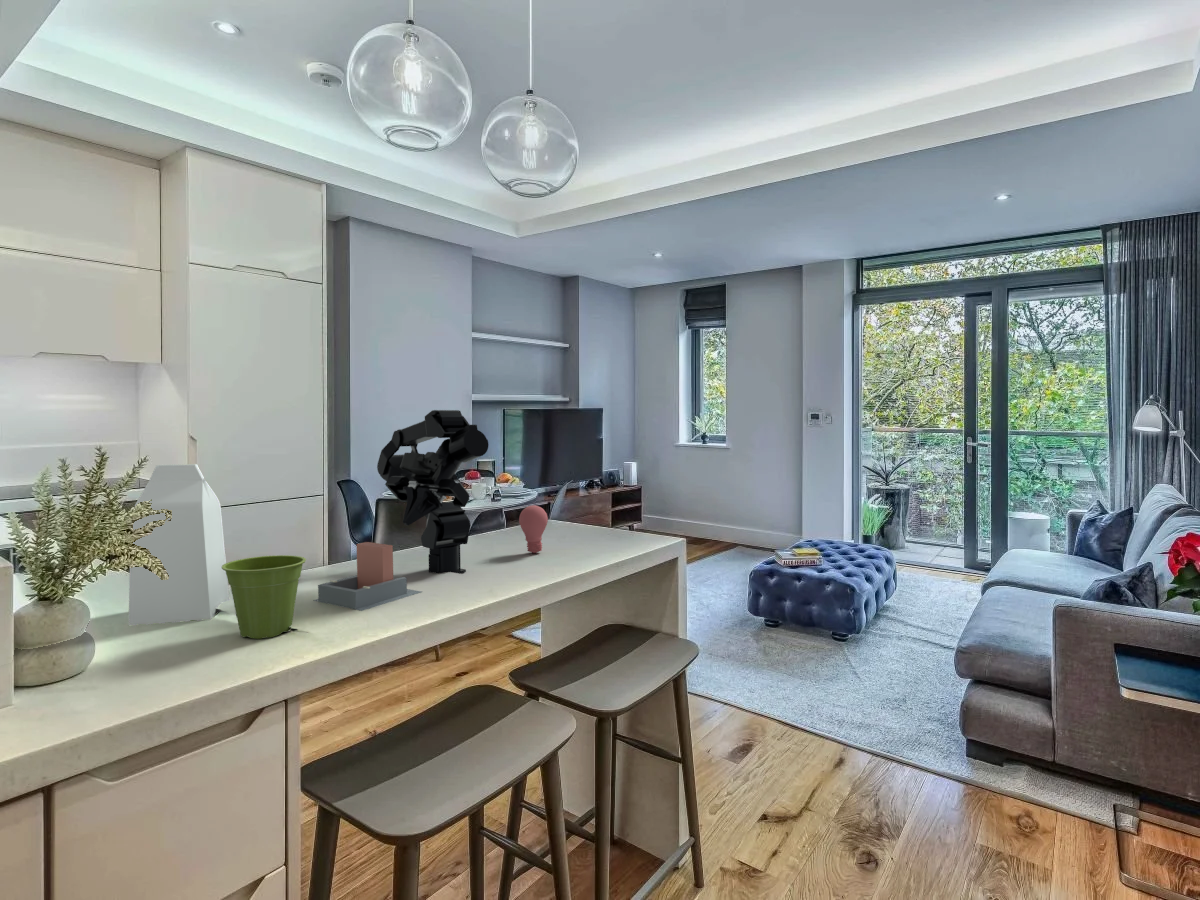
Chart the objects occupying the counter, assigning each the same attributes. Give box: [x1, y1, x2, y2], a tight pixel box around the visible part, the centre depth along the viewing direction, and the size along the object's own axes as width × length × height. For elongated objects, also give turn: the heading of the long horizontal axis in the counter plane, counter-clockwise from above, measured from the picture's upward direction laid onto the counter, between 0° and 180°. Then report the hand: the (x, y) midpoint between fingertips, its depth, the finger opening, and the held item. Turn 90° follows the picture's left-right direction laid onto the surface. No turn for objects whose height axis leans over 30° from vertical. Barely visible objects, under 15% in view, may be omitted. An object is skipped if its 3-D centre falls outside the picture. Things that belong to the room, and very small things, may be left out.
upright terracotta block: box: [356, 541, 394, 589], centre depth 122 cm, size 3×7×9 cm, turn 60°
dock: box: [313, 574, 423, 612], centre depth 120 cm, size 14×13×4 cm
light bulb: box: [518, 505, 549, 554], centre depth 163 cm, size 7×7×12 cm
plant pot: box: [222, 554, 307, 640], centre depth 103 cm, size 12×12×11 cm
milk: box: [128, 463, 230, 626], centre depth 113 cm, size 12×12×26 cm
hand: (405, 524), depth 128 cm, fingers closed
